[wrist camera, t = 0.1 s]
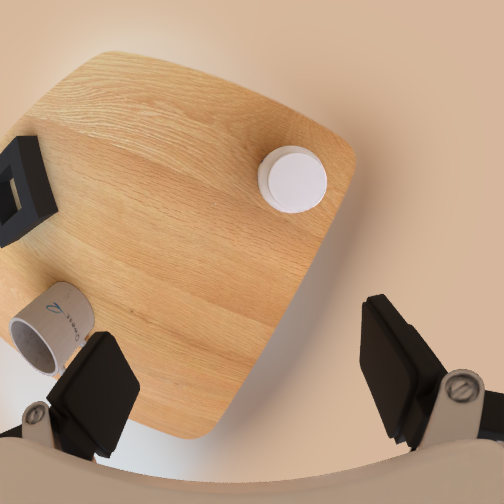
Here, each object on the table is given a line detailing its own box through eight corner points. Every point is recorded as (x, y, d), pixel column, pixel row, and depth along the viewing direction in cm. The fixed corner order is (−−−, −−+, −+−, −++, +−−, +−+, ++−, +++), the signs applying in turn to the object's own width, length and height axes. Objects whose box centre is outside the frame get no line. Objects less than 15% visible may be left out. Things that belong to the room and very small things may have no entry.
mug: (42, 283, 30) (0, 316, 21) (80, 279, 30) (35, 318, 20) (73, 351, 34) (43, 390, 25) (112, 354, 34) (84, 401, 24)
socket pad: (36, 135, 23) (16, 135, 20) (58, 210, 27) (38, 218, 23) (-2, 174, 25) (-20, 178, 21) (18, 239, 28) (1, 248, 24)
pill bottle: (304, 206, 26) (326, 229, 18) (252, 196, 26) (250, 213, 18) (316, 155, 25) (344, 154, 16) (263, 143, 24) (266, 134, 16)
